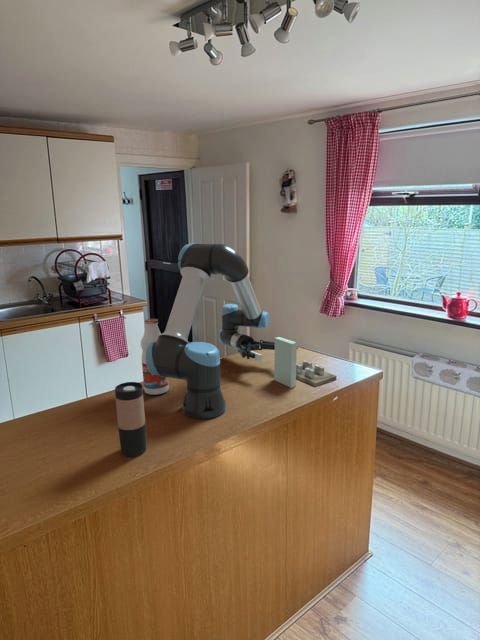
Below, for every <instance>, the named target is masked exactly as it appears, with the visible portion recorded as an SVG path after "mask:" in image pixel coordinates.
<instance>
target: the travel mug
mask: <svg viewBox="0 0 480 640" xmlns="http://www.w3.org/2000/svg"><path fill="white" fill-rule="evenodd" d="M143 390H144V388H143V384H142V383H140V382H137V381H127V382H123V383H120V384H117V385H116V386H115V388H114V392H115V393H114V394H115V395H114V396H115V407H116V419H117V427H118V428H117V429H118V430H117V431H118V437H119V445H120V452H121V454H122V456H124V457H126V458H135V457H140V456H141V455H143V454H145V452H146V451H147V434H146V433H147V431H146V430H147V429H146V416H145V415H146V414H145V403H144V392H143Z"/></svg>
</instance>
